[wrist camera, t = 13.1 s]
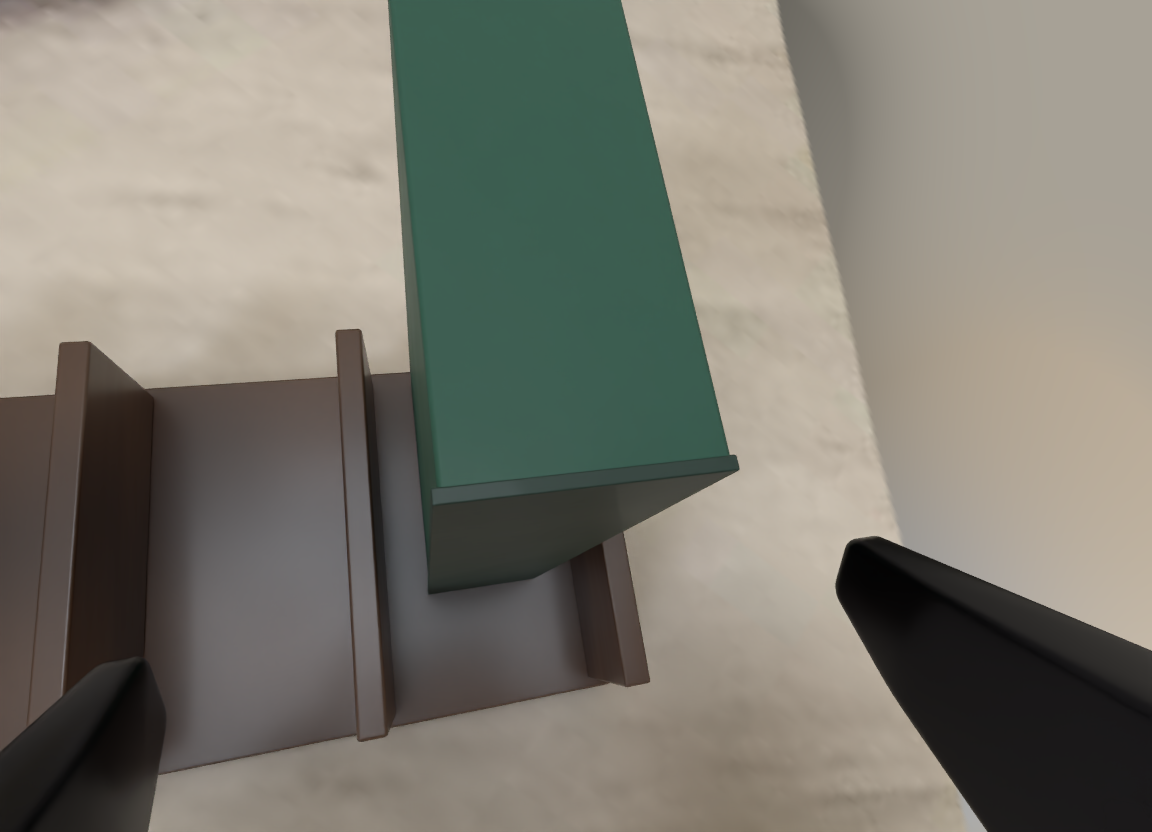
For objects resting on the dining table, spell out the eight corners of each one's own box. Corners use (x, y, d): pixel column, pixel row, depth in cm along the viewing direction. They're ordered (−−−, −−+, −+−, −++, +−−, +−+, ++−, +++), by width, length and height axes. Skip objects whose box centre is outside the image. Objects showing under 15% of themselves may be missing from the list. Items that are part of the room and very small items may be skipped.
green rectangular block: (534, 578, 18) (740, 470, 6) (427, 594, 17) (433, 506, 5) (505, 373, 19) (624, -12, 8) (409, 380, 19) (381, -35, 7)
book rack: (603, 681, 18) (653, 695, 14) (-178, 838, 13) (-433, 924, 9) (553, 371, 21) (583, 309, 17) (-108, 416, 16) (-282, 344, 12)
